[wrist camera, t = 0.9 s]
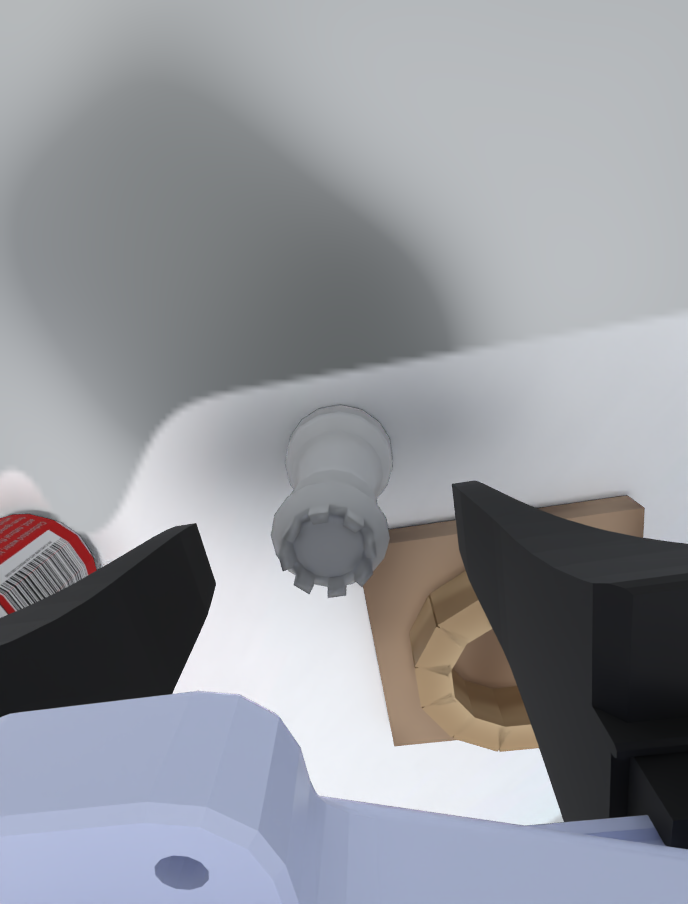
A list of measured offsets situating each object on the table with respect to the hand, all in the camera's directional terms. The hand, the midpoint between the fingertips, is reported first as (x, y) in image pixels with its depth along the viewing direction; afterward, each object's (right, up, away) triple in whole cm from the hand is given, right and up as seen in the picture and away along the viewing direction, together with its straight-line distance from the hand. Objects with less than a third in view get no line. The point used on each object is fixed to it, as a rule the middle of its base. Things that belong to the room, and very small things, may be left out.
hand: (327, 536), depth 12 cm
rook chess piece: (0, +2, +7) cm, 7 cm away
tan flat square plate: (+8, -6, +9) cm, 14 cm away
